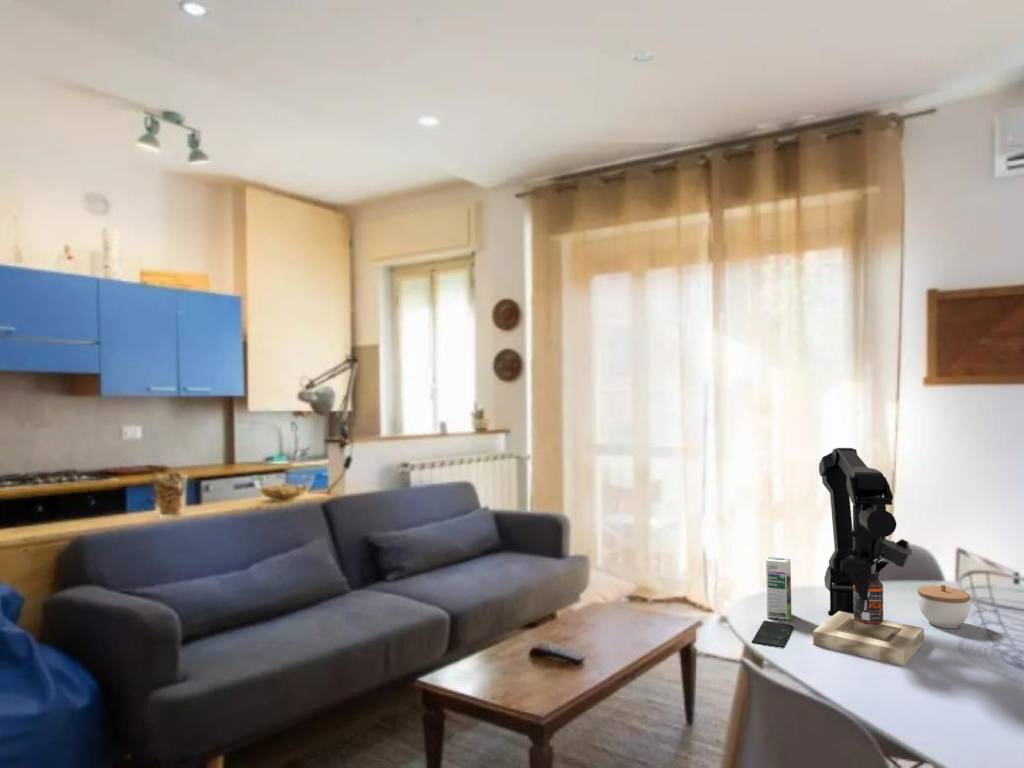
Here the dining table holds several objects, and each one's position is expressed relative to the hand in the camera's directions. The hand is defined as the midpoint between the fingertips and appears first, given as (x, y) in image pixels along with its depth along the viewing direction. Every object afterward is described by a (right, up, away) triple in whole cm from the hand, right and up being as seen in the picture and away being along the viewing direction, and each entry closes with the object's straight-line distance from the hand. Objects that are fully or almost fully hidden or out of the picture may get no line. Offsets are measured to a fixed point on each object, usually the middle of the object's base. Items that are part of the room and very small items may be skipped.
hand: (868, 596), depth 153 cm
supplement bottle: (0, -6, 0) cm, 6 cm away
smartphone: (-19, -11, +5) cm, 23 cm away
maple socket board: (0, -10, 0) cm, 10 cm away
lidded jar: (+24, -10, +12) cm, 29 cm away
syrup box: (-13, -11, +18) cm, 25 cm away
